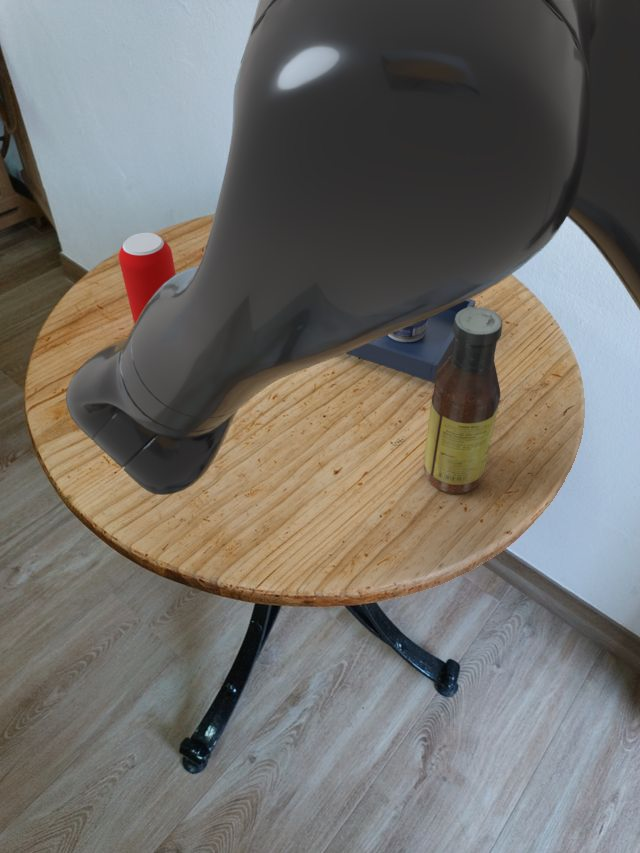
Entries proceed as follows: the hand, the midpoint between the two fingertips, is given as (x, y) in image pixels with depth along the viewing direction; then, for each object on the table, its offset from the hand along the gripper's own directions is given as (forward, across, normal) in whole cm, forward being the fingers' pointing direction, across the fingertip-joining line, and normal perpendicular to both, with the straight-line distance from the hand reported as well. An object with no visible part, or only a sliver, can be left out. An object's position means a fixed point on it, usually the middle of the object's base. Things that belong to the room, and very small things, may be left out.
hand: (377, 204), depth 65 cm
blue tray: (+11, 0, +23) cm, 26 cm away
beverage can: (-4, +28, +23) cm, 37 cm away
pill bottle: (+11, 0, +23) cm, 25 cm away
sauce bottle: (-7, -14, +23) cm, 28 cm away
